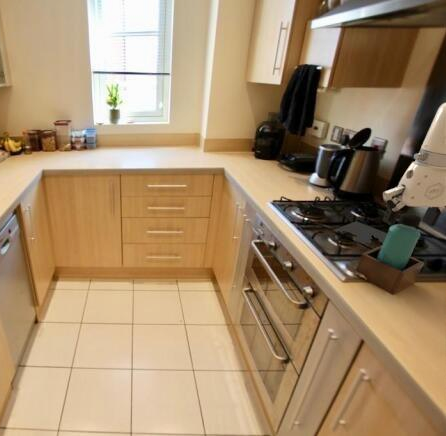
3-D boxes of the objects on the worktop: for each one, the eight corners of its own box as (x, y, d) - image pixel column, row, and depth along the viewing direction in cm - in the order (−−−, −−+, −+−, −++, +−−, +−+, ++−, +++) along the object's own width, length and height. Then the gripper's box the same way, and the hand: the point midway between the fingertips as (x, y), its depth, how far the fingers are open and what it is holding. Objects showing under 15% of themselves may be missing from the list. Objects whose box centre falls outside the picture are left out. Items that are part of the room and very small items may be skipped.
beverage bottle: (403, 287, 86) (436, 222, 76) (376, 284, 87) (405, 221, 77) (389, 272, 91) (418, 210, 82) (364, 270, 92) (390, 209, 83)
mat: (398, 239, 107) (399, 238, 106) (375, 250, 101) (375, 249, 101) (355, 222, 118) (356, 221, 118) (332, 231, 112) (332, 230, 112)
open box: (413, 283, 87) (424, 262, 84) (393, 294, 83) (404, 273, 80) (374, 264, 95) (382, 244, 92) (353, 273, 91) (362, 253, 88)
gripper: (411, 163, 70) (382, 230, 78) (494, 164, 69) (456, 231, 77) (388, 153, 77) (363, 216, 85) (463, 154, 76) (431, 217, 84)
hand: (407, 223), depth 81 cm, fingers open, 9 cm apart
